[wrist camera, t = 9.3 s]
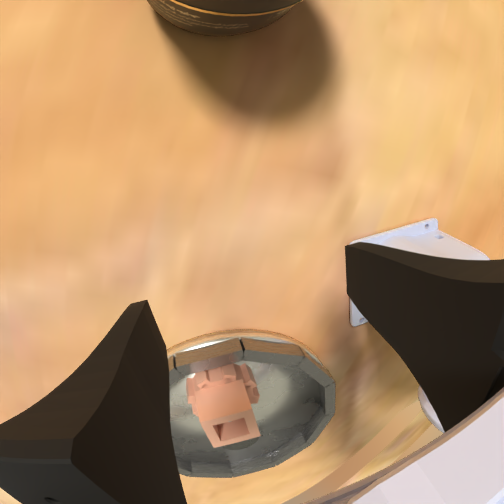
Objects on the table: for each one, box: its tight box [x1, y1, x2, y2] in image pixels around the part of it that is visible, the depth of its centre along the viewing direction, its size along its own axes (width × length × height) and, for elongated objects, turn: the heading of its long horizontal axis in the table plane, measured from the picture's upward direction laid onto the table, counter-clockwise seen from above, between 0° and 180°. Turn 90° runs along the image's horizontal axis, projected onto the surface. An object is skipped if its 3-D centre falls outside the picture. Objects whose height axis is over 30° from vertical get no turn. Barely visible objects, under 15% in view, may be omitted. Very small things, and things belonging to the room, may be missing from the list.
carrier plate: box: [167, 329, 335, 478], centre depth 25 cm, size 19×19×5 cm
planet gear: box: [186, 363, 261, 448], centre depth 22 cm, size 5×5×5 cm
